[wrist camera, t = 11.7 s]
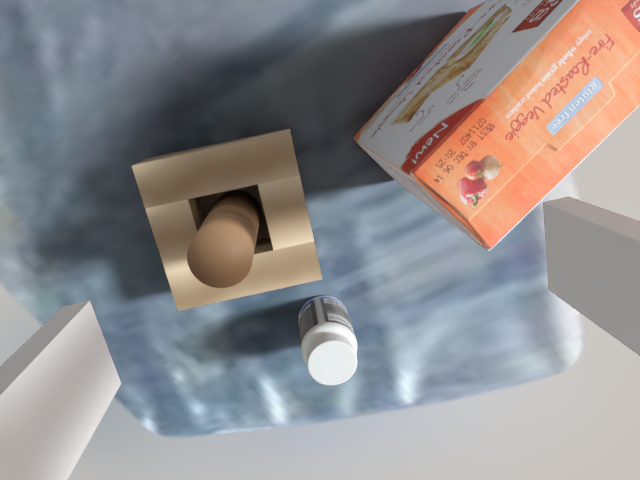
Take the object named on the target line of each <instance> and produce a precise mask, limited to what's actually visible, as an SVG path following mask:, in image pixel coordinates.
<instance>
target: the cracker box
mask: <svg viewBox="0 0 640 480" xmlns="http://www.w3.org/2000/svg"><path fill="white" fill-rule="evenodd" d="M639 105H640V0H488V1H486V2H484V3H482V4H480V5H478V6H476V7H474V8H472V9H470V10H469V11H468V12H467V13H466V14H465V15H464V16H463V18H462V19H461V20H460V21H459V22H458V23H457V24H456V25H455V26H454V27H453V28H452V30H451V31H450V32H449V33H448V34H447V35H446V36H445V37H444V38H443V39H442V40H441V41H440V43H439V44H438V45H437V46H436V47H435V48H434V49H433V50H432V51H431V52H430V53H429V55H428V56H427V57H426V58H425V59H424V60H423V61H422V62H421V63H420V64H419V66H418V67H417V68H416V69H415V70H414V71H413V72H412V73H411V74H410V75H409V76H408V77H407V79H406V80H405V81H404V82H403V83H402V84H401V85H400V86H399V87H398V88H397V89H396V90H395V92H394V93H393V94H392V95H391V96H390V97H389V98H388V99H387V100H386V101H385V102H384V103H383V105H382V106H381V107H380V108H379V109H378V110H377V111H376V112H375V113H374V114H373V116H372V117H371V118H370V119H369V120H368V121H367V122H366V123H365V124H364V125H363V126H362V127H361V129H360V130H359V131H358V132H357V133H356V134H355V135H354V136H353V139H354V140H355V141H356V142H357V143H358V144H359V145H360V146H361V147H362V148H363V149H364V150H365V151H366V152H367V153H368V154H369V155H370V156H371V157H372V158H373V159H374V160H375V161H376V162H377V163H378V164H379V165H380V166H381V167H382V168H383V169H384V170H385V171H386V172H387V173H388V174H389V175H390V176H391V177H392V178H393V179H394V180H396V181H397V182H398V183H399V184H400V185H402V186H403V187H404V188H405V189H407V190H408V191H409V192H410V193H412V194H413V195H414V196H416V197H417V198H418V199H420V200H421V201H422V202H423V203H425V204H426V205H427V206H429V207H430V208H431V209H433V210H434V211H435V212H437V213H438V214H439V215H440V216H442V217H443V218H444V219H446V220H447V221H448V222H450V223H451V224H452V225H454V226H455V227H456V228H458V229H459V230H461V231H462V232H463V233H465V234H466V235H467V236H468V237H470V238H471V239H472V240H474V241H475V242H476V243H478V244H479V245H481V246H482V247H483V248H484V249H486V250H487V251H490V250H491V249H492V248H493V247H494V246H495V245H496V244H497V243H498V242H500V241H501V240H502V239H503V238H504V237H505V236H506V235H507V234H508V233H509V232H510V231H511V230H512V229H513V228H514V227H515V226H516V225H517V224H518V223H519V222H520V221H521V220H522V219H523V218H524V217H525V216H526V215H527V214H528V213H529V212H530V211H532V210H533V209H534V208H535V207H536V206H537V205H538V204H539V203H540V202H541V201H542V200H543V199H544V198H545V197H546V196H547V195H548V194H549V193H550V192H551V191H552V190H553V189H554V188H555V187H556V186H557V185H558V184H559V183H560V182H562V181H563V180H564V179H565V178H566V177H567V176H568V175H569V174H570V173H571V172H572V171H573V170H574V169H575V168H576V167H577V166H578V165H579V164H580V163H581V162H582V161H583V160H584V159H585V158H586V157H587V156H588V155H589V154H590V153H591V152H592V151H593V150H595V149H596V148H597V147H598V146H599V145H600V144H601V143H602V142H603V140H605V139H606V138H607V137H608V135H610V134H611V133H612V132H613V131H614V130H615V129H616V128H617V127H618V126H619V125H620V124H621V123H622V122H623V121H624V120H625V119H626V118H627V117H628V116H629V115H630V114H631V113H632V112H633V111H634V110H635V109H636V108H638V107H639Z"/></svg>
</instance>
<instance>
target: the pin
mask: <svg viewBox="0 0 640 480" xmlns="http://www.w3.org/2000/svg"><path fill="white" fill-rule="evenodd" d="M260 218H261V210H260V206H259V204H258V202H257V200H256V199H255V198H254V197H253V196H252V195H251V194H249V193H247V192H245V191H241V190H233V191H229V192H226V193H224V194H223V195H222V196H220V197H219V199H218V200H217V201H216V203H215V205H214V206H213V208H212V209H211V211H210V212H209V214H208V216H207V217H206V219H205V220H204V222H203V223H202V225H201V227H200V228H199V230H198V231H197V233H196V235H195V236H194V238H193V239H192V241H191V243H190V245H189V247H188V251H187V262H188V266H189V268H190V270H191V272H192V274H193V275H194V276H195V277H196V278H197V279H198V280H199V281H200V282H202V283H203V284H205V285H207V286H210V287H214V288H228V287H231V286H234V285H236V284H238V283H240V282H241V281H242V280H243V279H244V278H245V277H246V276H247V275H248V273H249V271H250V269H251V266H252V262H253V256H254V251H255V245H256V240H257V234H258V229H259V223H260Z"/></svg>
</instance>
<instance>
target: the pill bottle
mask: <svg viewBox="0 0 640 480" xmlns="http://www.w3.org/2000/svg"><path fill="white" fill-rule="evenodd" d="M299 333H300V344H301V353H302V357H303V359H304V361H305V363H306V364H307V367H308V371H309V373H310V375H311V376H312V377H313V379H315V380H316V381H317V382H319V383H321V384H324V385H338V384H341V383H343V382H345V381H347V380H348V379H349V378H350V377H351V376H352V375H353V374H354V372H355V370H356V367H357V356H356V353H357V341H356V337H355V334H354V331H353V328H352V325H351V321H350V319H349V316H348V313H347V310H346V308H345V306H344V305H343V304H342V302H341V301H339V300H338V299H336V298H334V297H331V296H318V297H314V298H312V299H310V300H309V301H307V302H306V303H305V304H304V305H303V307H302V308H301V310H300V313H299Z"/></svg>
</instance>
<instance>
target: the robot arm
mask: <svg viewBox="0 0 640 480" xmlns="http://www.w3.org/2000/svg"><path fill="white" fill-rule="evenodd" d="M543 211H544V227H545V243H546V258H547V274H548V290H550V291H551V292H552V293H554V294H555V295H556V296H558V297H559V298H561V299H562V300H563V301H565V302H566V303H567V304H569V305H570V306H572V307H573V308H574V309H576V310H577V311H579V312H580V313H581V314H583V315H584V316H586V317H587V318H588V319H590V320H591V321H592V322H594V323H595V324H597V325H598V326H599V327H601V328H602V329H603V330H605V331H606V332H608V333H609V334H610V335H612V336H613V337H615V338H616V339H618V340H619V341H620V342H621V343H623V344H624V345H626V346H627V347H628V348H630V349H631V350H633V351H634V352H635V353H637V354H638V355H639V356H640V221H638V220H634V219H632V218H628V217H626V216H623V215H620V214H617V213H614V212H612V211H609V210H606V209H603V208H600V207H597V206H594V205H592V204H589V203H586V202H583V201H580V200H577V199H574V198H571V197H565V198H561V199H556V200H551V201H547V202H543ZM120 385H121V382H120V379H119V376H118V374H117V371H116V368H115V366H114V363H113V360H112V358H111V355H110V353H109V350H108V347H107V345H106V342H105V339H104V337H103V334H102V331H101V329H100V326H99V324H98V321H97V318H96V316H95V313H94V310H93V308H92V305H91V302H90V301H86V302H81V303H77V304H72V305H67V306H63V307H62V308H61V309H60V310H59V311H58V312H57V313H56V314H55V315H54V316H52V317H51V318H50V319H49V320H48V321H47V322H46V323H45V324H44V325H43V326H42V327H41V328H40V329H39V330H38V331H37V332H36V333H35V334H34V335H33V336H32V337H31V338H30V339H29V340H27V341H26V342H25V343H24V344H23V345H22V346H21V347H20V348H19V349H18V350H17V351H16V352H15V353H14V354H13V355H12V356H11V357H10V358H9V359H8V360H7V361H5V362H4V363H3V365H1V366H0V480H67V479H68V478H69V476H70V474H71V472H72V471H73V469H74V467H75V465H76V463H77V462H78V460H79V458H80V456H81V455H82V453H83V451H84V449H85V447H86V446H87V444H88V442H89V440H90V438H91V437H92V435H93V433H94V431H95V430H96V428H97V426H98V424H99V422H100V421H101V419H102V417H103V415H104V413H105V412H106V410H107V408H108V406H109V405H110V403H111V401H112V399H113V397H114V396H115V394H116V392H117V390H118V389H119V387H120Z"/></svg>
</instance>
